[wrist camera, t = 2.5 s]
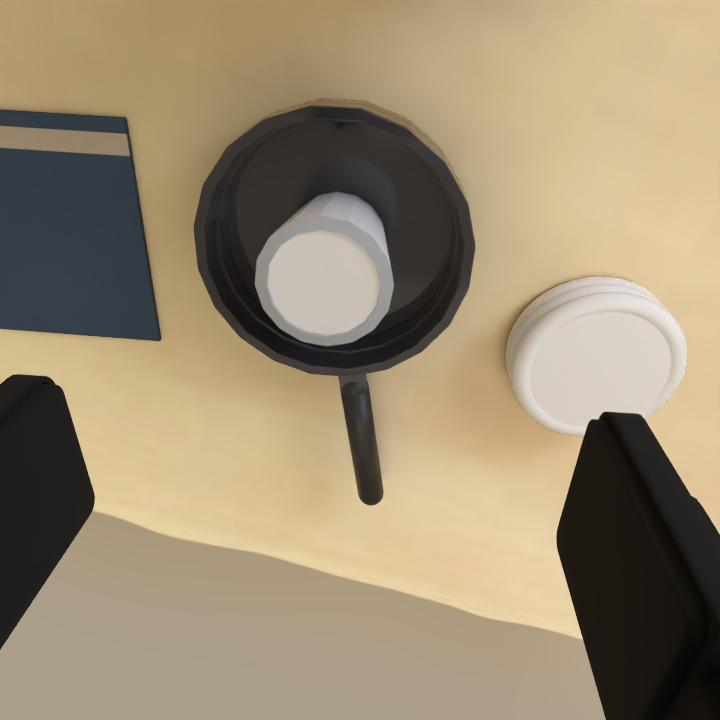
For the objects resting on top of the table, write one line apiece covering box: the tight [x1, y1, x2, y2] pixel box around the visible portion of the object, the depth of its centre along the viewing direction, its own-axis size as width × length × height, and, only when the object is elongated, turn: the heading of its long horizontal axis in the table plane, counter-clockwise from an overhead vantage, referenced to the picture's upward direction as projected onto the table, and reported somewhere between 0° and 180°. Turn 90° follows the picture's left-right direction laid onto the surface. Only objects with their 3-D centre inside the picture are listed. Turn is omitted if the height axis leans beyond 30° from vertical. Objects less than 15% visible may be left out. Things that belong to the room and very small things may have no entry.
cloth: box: [0, 110, 161, 341], centre depth 34 cm, size 14×14×1 cm
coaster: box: [506, 276, 687, 437], centre depth 34 cm, size 10×10×4 cm
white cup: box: [255, 192, 394, 346], centre depth 30 cm, size 7×7×7 cm
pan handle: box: [339, 372, 383, 505], centre depth 37 cm, size 12×2×2 cm, turn 7°
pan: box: [194, 98, 475, 376], centre depth 32 cm, size 15×15×4 cm
